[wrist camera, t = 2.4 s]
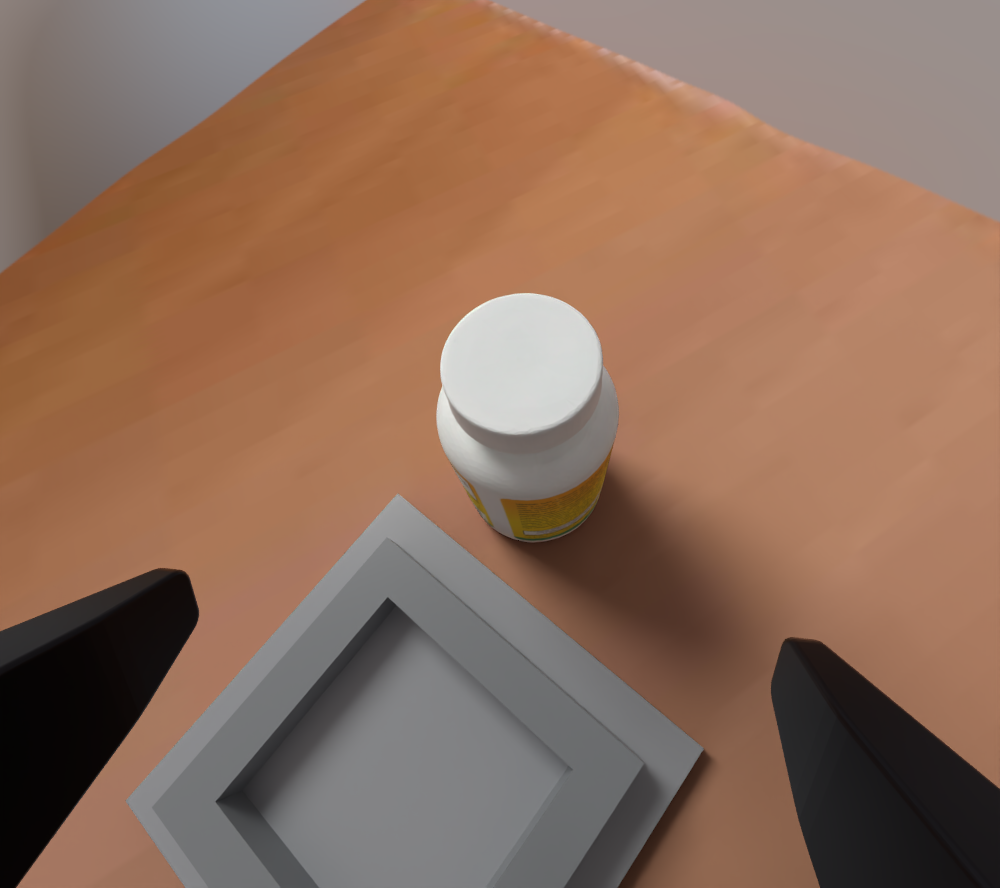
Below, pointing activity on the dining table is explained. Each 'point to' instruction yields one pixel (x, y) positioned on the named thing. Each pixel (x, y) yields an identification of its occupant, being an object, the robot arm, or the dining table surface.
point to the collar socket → (415, 741)
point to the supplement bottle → (527, 414)
